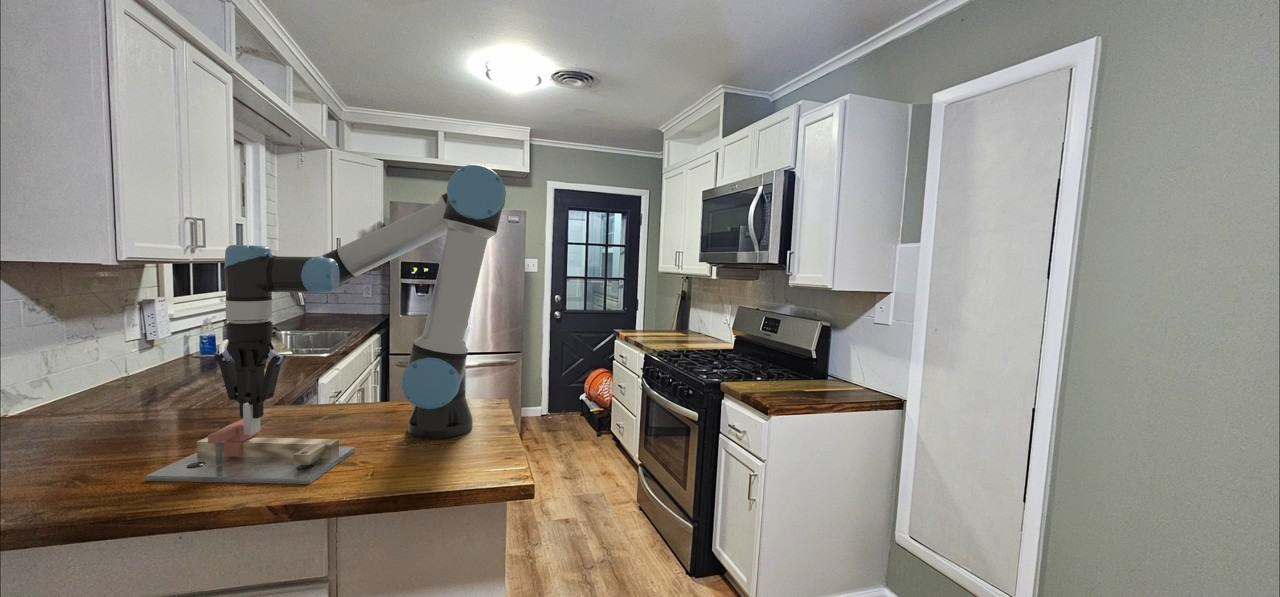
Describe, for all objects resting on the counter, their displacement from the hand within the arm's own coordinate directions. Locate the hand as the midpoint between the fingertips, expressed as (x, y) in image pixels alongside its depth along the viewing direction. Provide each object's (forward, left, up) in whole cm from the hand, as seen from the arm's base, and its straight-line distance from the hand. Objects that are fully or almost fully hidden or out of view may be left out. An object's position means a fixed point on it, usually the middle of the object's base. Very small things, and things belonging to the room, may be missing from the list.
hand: (252, 432), depth 105 cm
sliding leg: (+2, +2, -4) cm, 5 cm away
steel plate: (-3, +3, -6) cm, 7 cm away
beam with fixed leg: (-3, +3, -5) cm, 6 cm away
